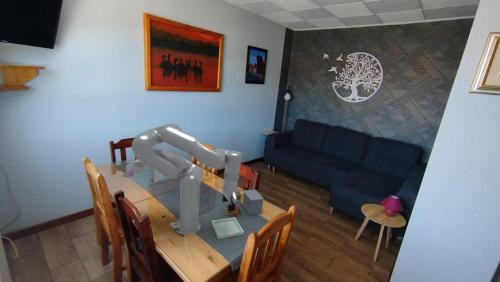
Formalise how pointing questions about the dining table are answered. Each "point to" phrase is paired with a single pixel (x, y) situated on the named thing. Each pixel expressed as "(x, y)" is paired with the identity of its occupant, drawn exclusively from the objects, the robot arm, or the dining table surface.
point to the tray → (227, 228)
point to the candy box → (237, 205)
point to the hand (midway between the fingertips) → (228, 205)
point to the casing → (142, 168)
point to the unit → (252, 202)
